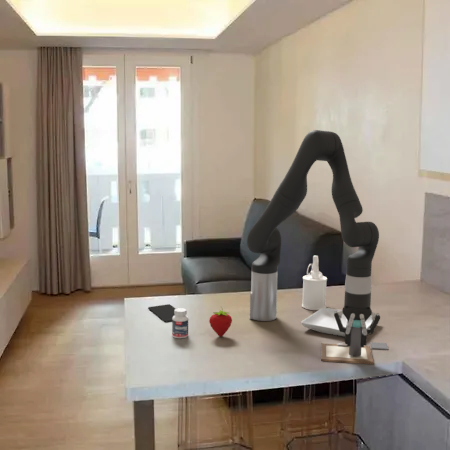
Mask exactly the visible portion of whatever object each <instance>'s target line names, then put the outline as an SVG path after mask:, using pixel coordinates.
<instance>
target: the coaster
mask: <svg viewBox="0 0 450 450" xmlns="http://www.w3.org/2000/svg"><path fill="white" fill-rule="evenodd" d="M370 349H371V350H383V351H389V347H388V343H387V342H376V341H375V342H374V341H370Z"/></svg>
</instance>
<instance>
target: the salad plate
mask: <svg viewBox="0 0 450 450" xmlns="http://www.w3.org/2000/svg"><path fill="white" fill-rule="evenodd" d="M341 310H342V309H336V308H331V307H330V308H329V307H326V308H321V309H320V310H316V311H314V313H312V314H311V315H309V316H307V317H306V318H305V319H303V320H301V321H300V323H301V325H302V326H303V327H304V328H307V329H309V330H312V331H315V332H318V333H323V334H327V335H328V334H329V335H332V334H333V335H334V336H337V335H338V337H342V338H345V333H344V332H340V331H339V328H338V325H337V322H336V319H335V317H334V311H341ZM347 321H348V320H347V318H346V317H345V316H344V314H342V318H341V322H342V325H343V327H345V328H346V325H347ZM372 321H373V320H372V316H370V317H369V318H368V319H367V320H366V322H365V324H366V329H368V328H369V327H370V325H371V323H372ZM333 335H332V336H333Z"/></svg>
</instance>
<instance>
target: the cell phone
mask: <svg viewBox="0 0 450 450" xmlns="http://www.w3.org/2000/svg"><path fill="white" fill-rule="evenodd" d="M147 309H148V310H149V311H150V312H151V313H153V315H155V316H156V317H158V318H159V320H161V321H162V322H163V323H172V318H173V316H174V315H175V314H174V310H175V309H177V308H176V307H174V306H173V305H171V304H162V305H161V304H160V305H156V306H155V305H154V306H153V305H152V306H148V307H147Z"/></svg>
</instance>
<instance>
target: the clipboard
mask: <svg viewBox="0 0 450 450" xmlns="http://www.w3.org/2000/svg"><path fill="white" fill-rule="evenodd" d="M320 361H321V362H332V363H334V362H336V363H346V364H349V363H350V364H361V365H362V364H363V365H374V359H373V354H372V348H371V345H369V346H367V345H364V347H361V356H358V357H354V356H351V355H349V346H347V344H345V342H344V343H342V342H337V343H323V342H322V343H321V344H320Z"/></svg>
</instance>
